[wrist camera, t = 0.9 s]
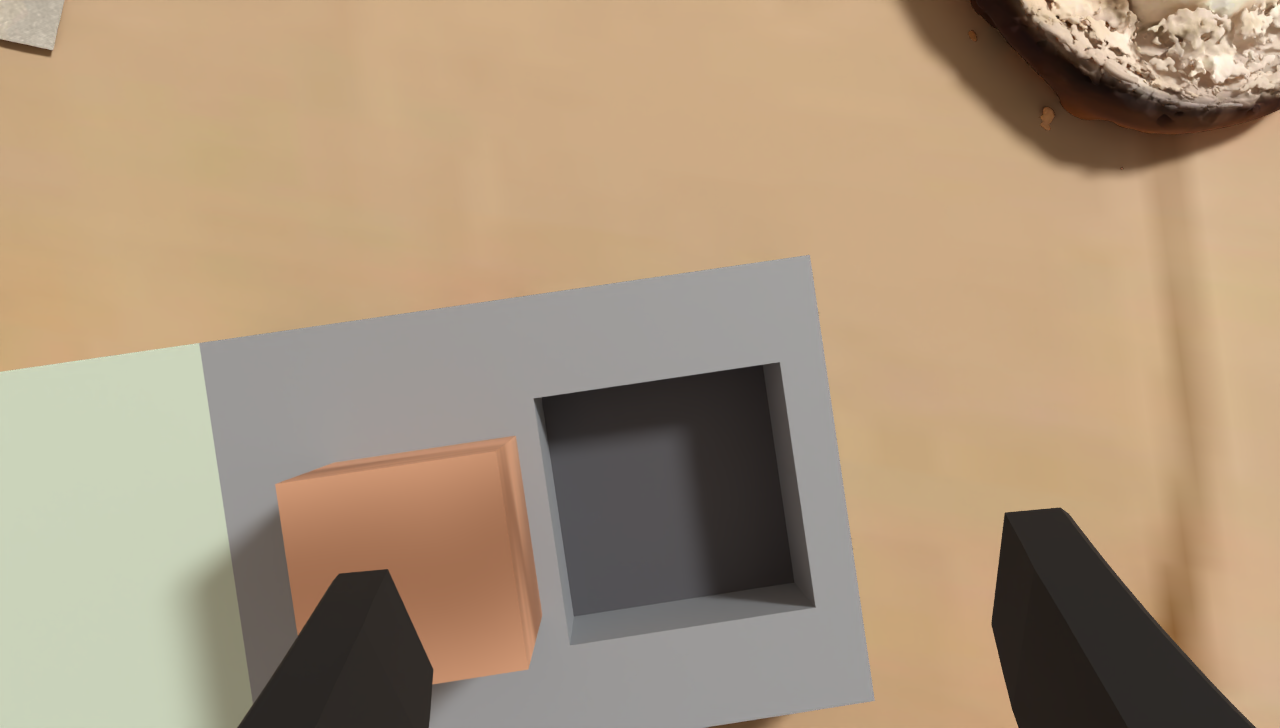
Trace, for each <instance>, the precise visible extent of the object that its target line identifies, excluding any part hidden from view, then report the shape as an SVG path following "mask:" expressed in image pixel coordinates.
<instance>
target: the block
mask: <svg viewBox="0 0 1280 728" xmlns="http://www.w3.org/2000/svg"><path fill="white" fill-rule="evenodd" d="M275 487H276V494H277V500H278V507H279V514H280V520H281V527H282V534H283V541H284V547H285V554H286V561H287V567H288V574H289V581H290V588H291V594H292V601H293V608H294V614H295V621H296V628H297V635H299V633H300V632H301V630H302V629H303V627H304V625H305V624H306V622H307V621H308V619H309V618H310V616H311V614H312V613H313V611H314V610H315V608H316V606H317V605H318V603H319V602H320V600H321V599H322V597H323V595H324V594H325V592H326V591H327V589H328V588H329V586H330V584H331V583H332V581H333V580H334V579H335V578H336V576H337V575H338V574H339V573H350V572H361V571H372V570H383V569H388V570H389V572H390V575H391V577H392V579H393V581H394V583H395V586H396V588H397V590H398V592H399V595H400V597H401V599H402V601H403V603H404V606H405V608H406V610H407V612H408V614H409V617H410V619H411V621H412V623H413V625H414V628H415V630H416V632H417V634H418V636H419V639H420V641H421V643H422V645H423V648H424V650H425V652H426V654H427V656H428V659H429V661H430V663H431V665H432V667H433V683H432V684H439V683H445V682H452V681H458V680H464V679H471V678H477V677H484V676H490V675H496V674H503V673H509V672H516V671H522V670H528V669H529V665H530V661H531V658H532V654H533V650H534V646H535V642H536V638H537V634H538V630H539V627H540V623H541V619H542V609H541V603H540V596H539V589H538V582H537V576H536V569H535V562H534V555H533V548H532V542H531V535H530V528H529V521H528V515H527V508H526V501H525V494H524V487H523V481H522V474H521V467H520V460H519V454H518V447H517V440H516V436H509V437H503V438H496V439H489V440H482V441H476V442H469V443H462V444H456V445H449V446H442V447H435V448H429V449H422V450H415V451H408V452H402V453H395V454H388V455H381V456H375V457H368V458H361V459H355V460H348V461H341V462H334V463H331V464H329V465H326V466H323V467H320V468H318V469H315V470H312V471H310V472H307V473H304V474H301V475H299V476H296V477H293V478H290V479H288V480H285V481H282V482H279V483H277V484H275Z"/></svg>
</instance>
